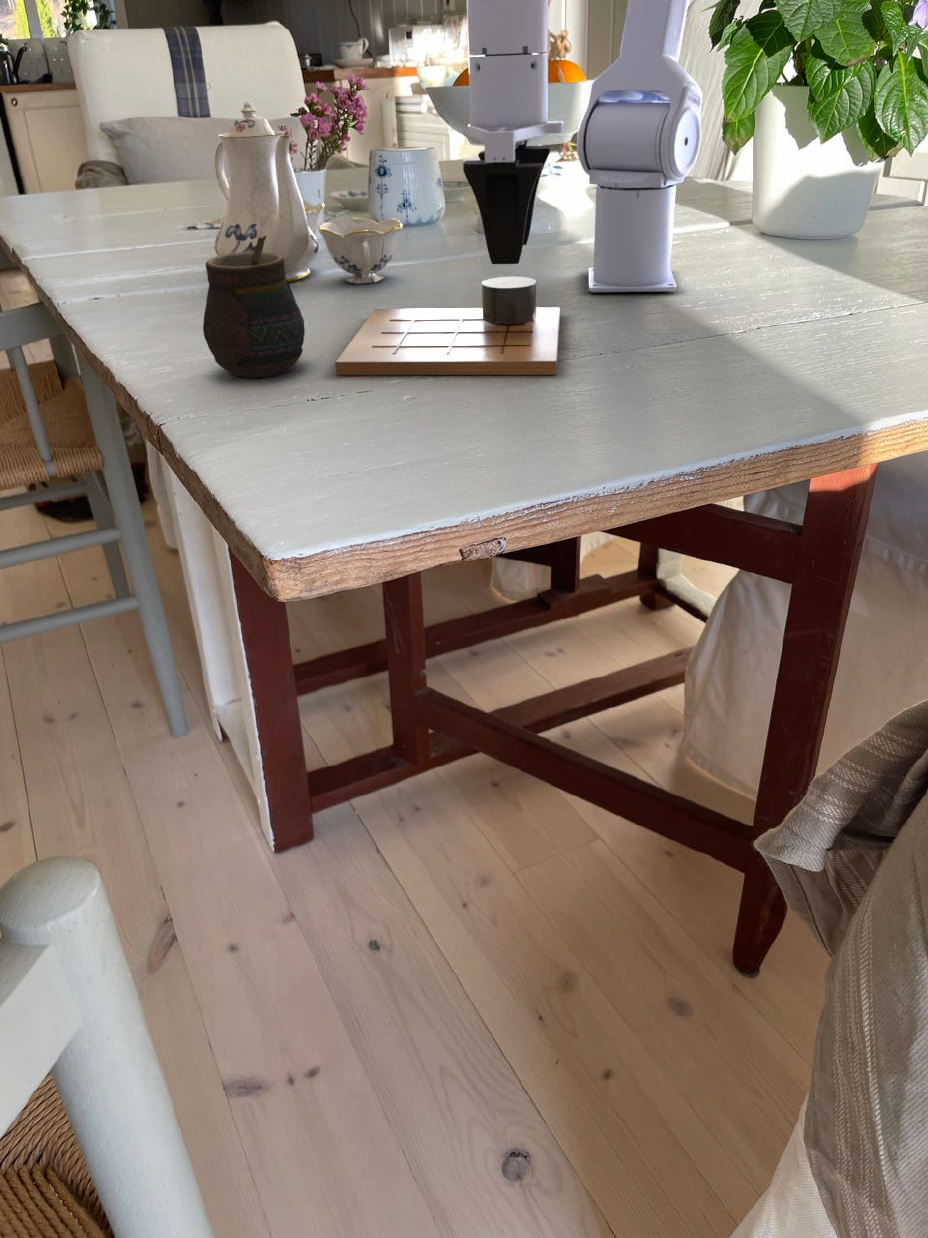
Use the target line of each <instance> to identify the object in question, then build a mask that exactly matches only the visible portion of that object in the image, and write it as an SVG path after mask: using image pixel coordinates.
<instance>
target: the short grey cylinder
mask: <svg viewBox="0 0 928 1238" xmlns="http://www.w3.org/2000/svg"><path fill="white" fill-rule="evenodd" d="M537 282H538V281H537V280H535V279H534V278H532V277H526V276H497V277H492V278H488V279H485V280H483V281H482V282H481V308H482V318H483V320H484V321H486V322H489V323H494V324H520V323H526V322H530V321H532V320H534V319H536V308H537V297H538V295H537V293H538V291H537V287H538V286H537Z"/></svg>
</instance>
